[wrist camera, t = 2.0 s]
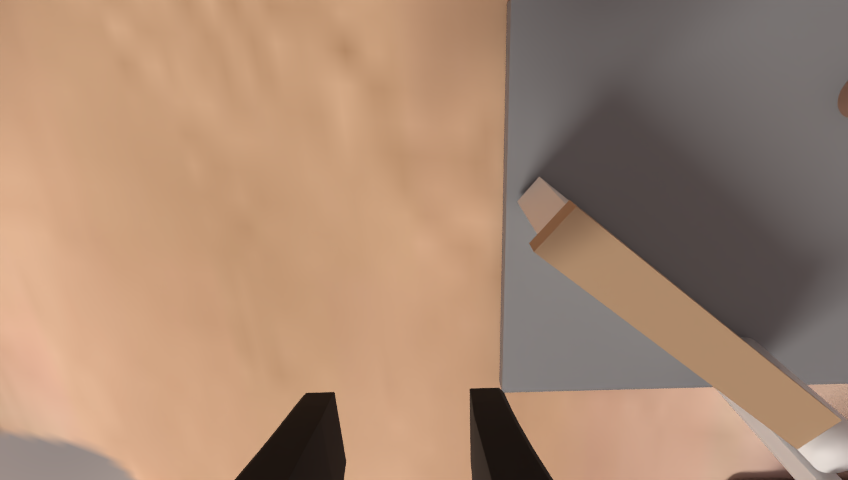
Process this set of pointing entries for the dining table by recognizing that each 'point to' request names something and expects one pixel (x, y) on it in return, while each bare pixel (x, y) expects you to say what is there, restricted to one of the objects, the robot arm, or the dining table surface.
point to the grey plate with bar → (681, 183)
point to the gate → (684, 327)
